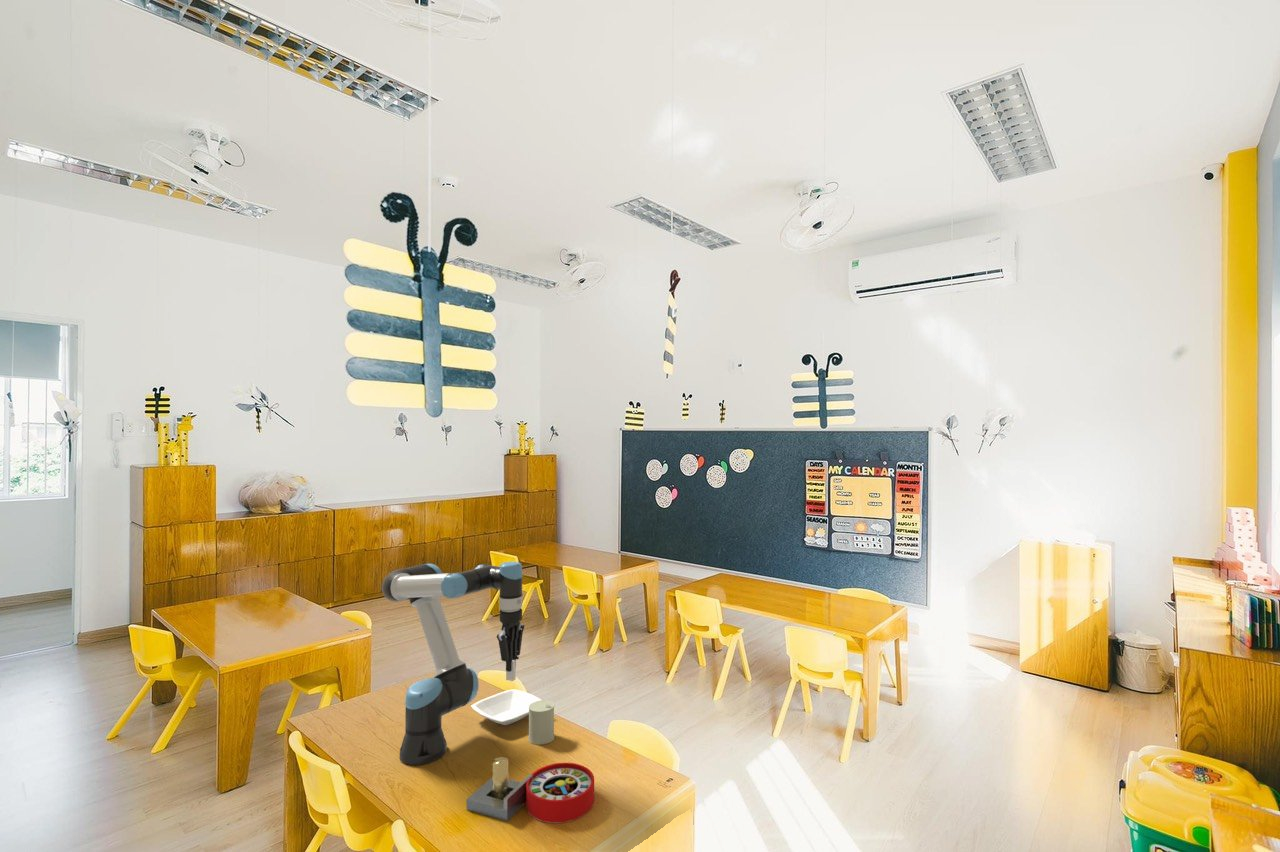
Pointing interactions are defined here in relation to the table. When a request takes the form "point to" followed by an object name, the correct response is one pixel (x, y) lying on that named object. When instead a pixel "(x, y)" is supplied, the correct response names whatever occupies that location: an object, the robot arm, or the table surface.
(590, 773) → the toy clock
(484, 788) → the jig
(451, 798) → the table surface
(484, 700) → the bowl
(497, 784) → the bushing
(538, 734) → the can
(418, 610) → the robot arm
